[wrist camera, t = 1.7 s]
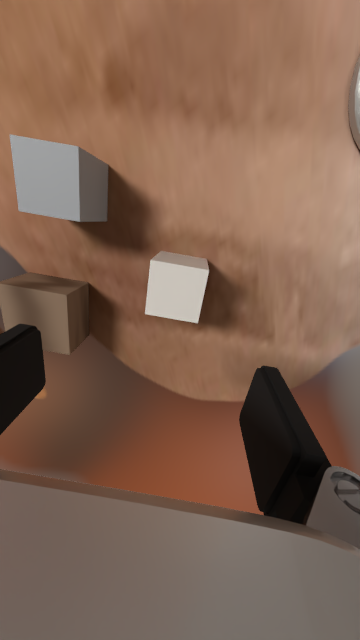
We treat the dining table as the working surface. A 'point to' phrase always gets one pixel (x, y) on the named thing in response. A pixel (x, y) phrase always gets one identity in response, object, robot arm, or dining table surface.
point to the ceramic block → (176, 286)
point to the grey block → (59, 180)
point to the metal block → (48, 309)
